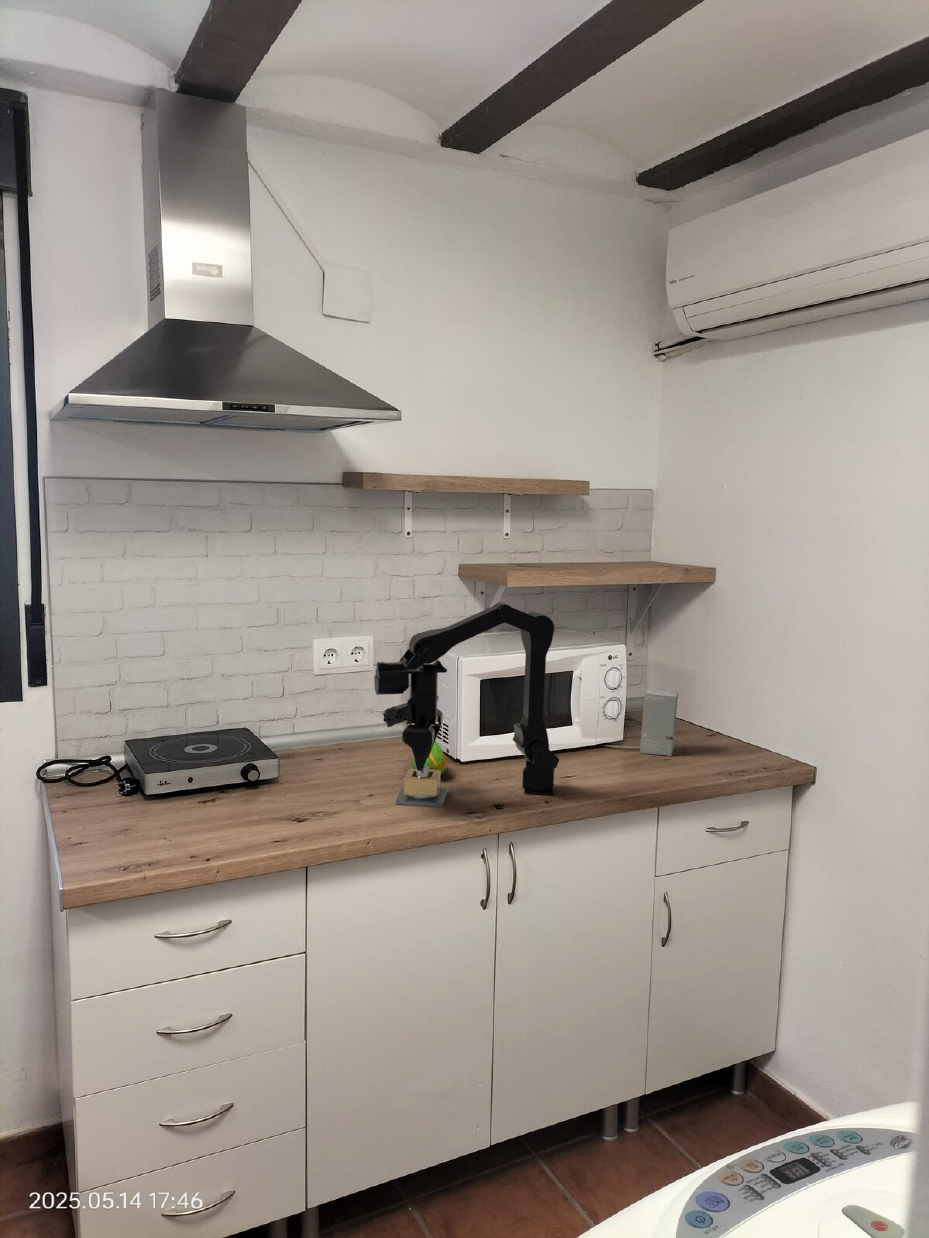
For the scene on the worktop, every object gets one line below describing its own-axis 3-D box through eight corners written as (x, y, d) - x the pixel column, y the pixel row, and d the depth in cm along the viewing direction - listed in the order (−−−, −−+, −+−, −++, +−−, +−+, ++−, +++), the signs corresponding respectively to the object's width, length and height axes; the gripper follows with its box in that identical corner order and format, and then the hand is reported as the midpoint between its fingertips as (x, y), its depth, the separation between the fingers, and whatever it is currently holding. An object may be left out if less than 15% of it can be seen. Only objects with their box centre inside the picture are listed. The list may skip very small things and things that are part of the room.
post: (448, 791, 201) (448, 760, 200) (442, 806, 191) (443, 774, 190) (403, 789, 202) (403, 758, 201) (395, 804, 192) (395, 772, 191)
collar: (440, 785, 199) (440, 769, 199) (436, 795, 192) (436, 779, 192) (408, 783, 200) (408, 768, 199) (403, 794, 193) (404, 778, 192)
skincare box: (639, 753, 233) (642, 693, 231) (642, 746, 240) (645, 687, 238) (673, 757, 231) (676, 696, 229) (675, 749, 238) (678, 690, 236)
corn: (422, 750, 205) (403, 728, 224) (419, 783, 206) (400, 758, 225) (454, 750, 207) (432, 728, 226) (451, 782, 208) (429, 758, 227)
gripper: (393, 682, 203) (393, 750, 205) (377, 701, 185) (377, 775, 187) (443, 684, 202) (442, 752, 204) (432, 703, 184) (431, 778, 186)
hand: (422, 764), depth 195 cm, fingers open, 9 cm apart
